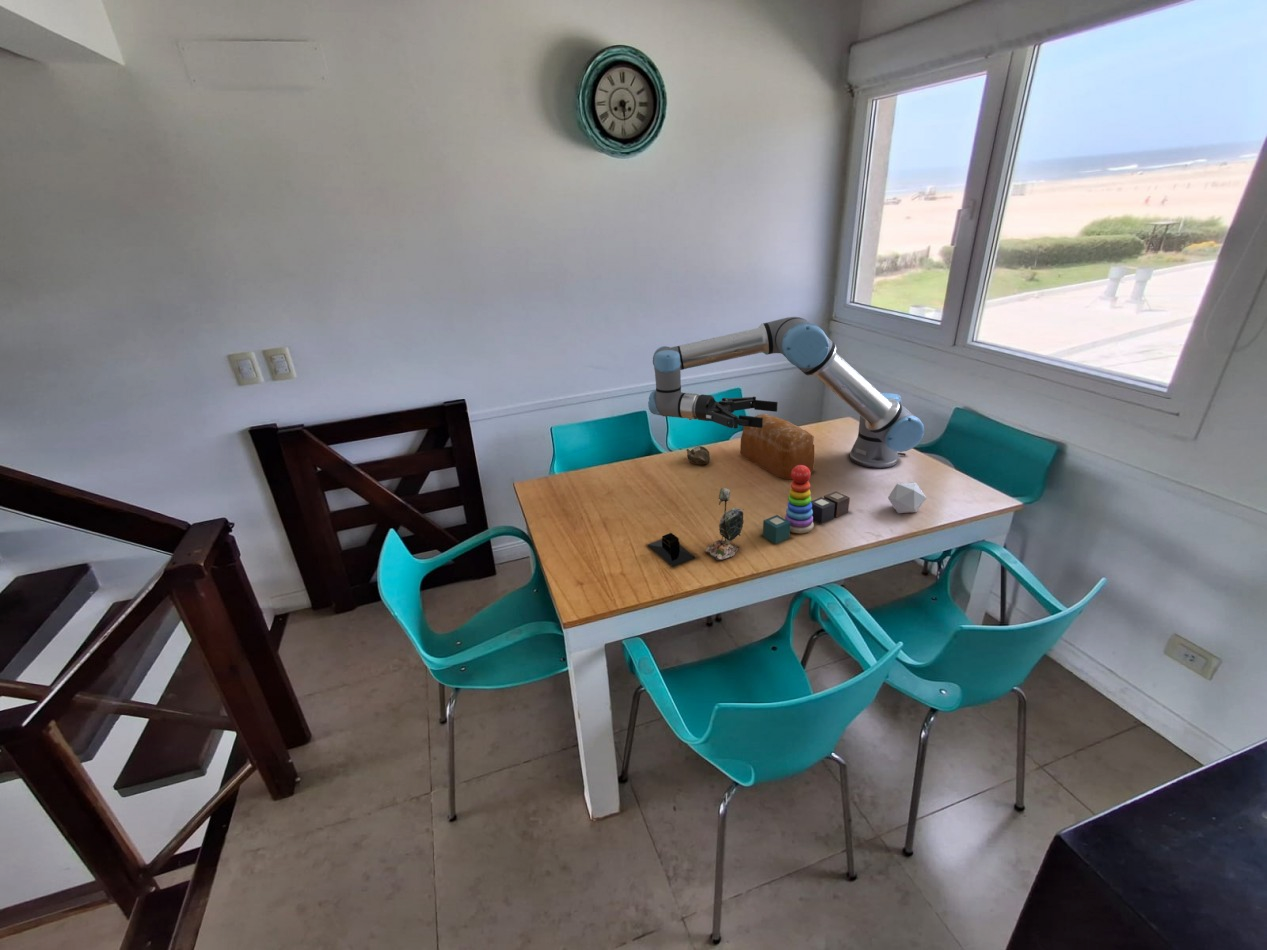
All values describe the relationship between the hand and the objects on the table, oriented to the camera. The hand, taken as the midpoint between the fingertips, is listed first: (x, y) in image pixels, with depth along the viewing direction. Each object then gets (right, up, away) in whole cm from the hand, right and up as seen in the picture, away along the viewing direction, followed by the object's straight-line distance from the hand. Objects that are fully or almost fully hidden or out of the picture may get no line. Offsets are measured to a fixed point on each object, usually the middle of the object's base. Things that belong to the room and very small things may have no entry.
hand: (770, 414), depth 153 cm
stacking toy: (+8, -31, +2) cm, 33 cm away
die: (+40, -27, +6) cm, 49 cm away
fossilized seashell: (-15, -12, +45) cm, 49 cm away
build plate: (-28, -37, -5) cm, 47 cm away
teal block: (+1, -34, -2) cm, 34 cm away
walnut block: (+21, -27, +8) cm, 35 cm away
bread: (+12, -13, +40) cm, 43 cm away
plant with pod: (-13, -37, -6) cm, 40 cm away
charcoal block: (+16, -29, +5) cm, 33 cm away
